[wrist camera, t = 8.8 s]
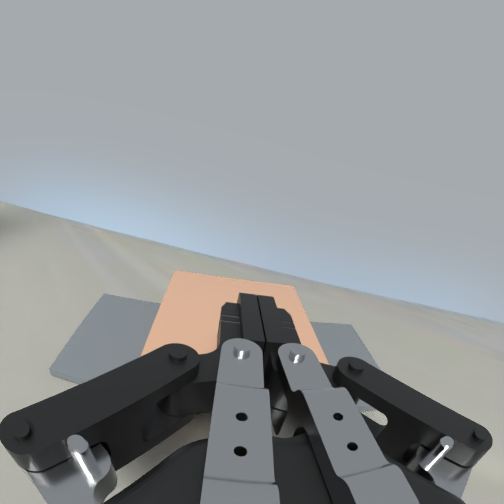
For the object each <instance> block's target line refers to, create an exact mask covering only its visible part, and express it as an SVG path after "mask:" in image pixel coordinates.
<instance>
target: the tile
mask: <svg viewBox="0 0 504 504" xmlns="http://www.w3.org/2000/svg"><path fill="white" fill-rule="evenodd" d="M239 292H240V293H248V294H256V295H264V296H272V297H274V299H275V303H276V306H277V308H283V309H285V310H286V311H287V312H288V313H289V314H290V315H291V317H292V320H293V323H294V325H295V329H296V331H297V334H298V336H299V339H300V342H301V345H304V346H306V347H308V348H310V349H311V350H312V351H313V352H314V353H315V355H316V356H317V358H318V360H319V362H320V363H324V364H328V361H327V359H326V357H325V355H324V352H323V350H322V348H321V346H320V343H319V341H318V339H317V337H316V334H315V332H314V330H313V328H312V326H311V323H310V321H309V319H308V317H307V315H306V312H305V310H304V308H303V306H302V304H301V301H300V299H299V297H298V295H297V293H296V291H295V288H294V286H288V285H280V284H272V283H264V282H256V281H248V280H240V279H233V278H226V277H218V276H211V275H204V274H197V273H190V272H183V271H176V270H175V272H174V274H173V277H172V279H171V281H170V284H169V286H168V288H167V291H166V293H165V296H164V298H163V300H162V303H161V305H160V308H159V310H158V313H157V315H156V318H155V320H154V323H153V325H152V328H151V330H150V333H149V335H148V338H147V341H146V343H145V346H144V348H143V351H142V354H141V356H143V355H145V354H147V353H149V352H151V351H153V350H155V349H157V348H159V347H161V346H163V345H166V344H171V343H180V344H185V345H188V346H190V347H192V348H193V349H195V350H196V351H197V353H198V354H206V353H210V352H212V351H214V350H216V349H217V334H218V327H219V320H220V313H221V307H222V306H223V305H224V304H225V303H226V302H231V303H237V300H238V295H239ZM141 356H140V357H141ZM328 365H329V364H328Z"/></svg>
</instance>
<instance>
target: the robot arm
mask: <svg viewBox="0 0 504 504" xmlns="http://www.w3.org/2000/svg"><path fill="white" fill-rule="evenodd" d="M359 400H362V401H364V402H365V403H367V404H368V405H370V406H372V407H373V408H375V409H377V410H378V411H380V412H381V413H383V414H384V415H385V416H386V417H387V419H388V423H387V425H380V424H378V423H376V422H375V421H373V420H371V419H370V418H368V417H367V416H365V415H363V414H362V413H360V412H359V410H358V408H357V406H356V405H357V403H358V401H359ZM211 411H212V415H211V422H210V430H209V437H208V438H207V439H203V440H198V441H195V442H192V443H189V444H187V445H185V446H183V447H181V448H179V449H178V450H176V451H175V452H173V453H172V454H171V455H170V456H168V457H167V458H166V459H164V460H163V461H162V462H161V463H159V464H158V465H157V466H155V467H154V468H153V469H151V470H150V471H149V472H147V473H146V474H145V475H143V476H142V477H141V478H139V479H138V480H136V481H135V482H134V483H132V484H131V485H129V486H128V487H126V488H125V489H124V490H122V491H121V492H119V493H118V494H116V495H115V496H113V497H112V498H110V499H109V500H107V501H106V502H104V500H105V498H106V497H107V496H108V495H109V494H110V493H111V492H112V491H113V490H114V489H115V487H116V485H117V474H116V472H115V471H117V470H118V469H120V468H122V467H123V466H125V465H126V464H128V463H130V462H131V461H133V460H134V459H136V458H138V457H139V456H141V455H142V454H144V453H145V452H147V451H148V450H150V449H151V448H153V447H154V446H156V445H157V444H159V443H160V442H162V441H163V440H165V439H166V438H167V437H169V436H170V435H172V434H173V433H175V432H176V431H177V430H179V429H180V428H182V427H183V426H184V425H186V424H187V423H189V422H190V421H191V420H192V419H193V417H194V414H197V413H204V412H211ZM0 440H1V442H2V444H3V445H4V447H5V448H6V450H7V451H8V452H9V454H10V455H11V456H12V458H13V459H14V460H15V462H16V463H17V464H18V465H19V467H20V468H21V469H22V470H23V472H24V473H25V474H26V475H27V476H28V478H29V479H30V480H31V481H32V482H33V483H34V485H35V486H36V487H37V489H38V490H39V492H40V493H41V495H42V496H43V498H44V499H45V500H46V502H47V503H48V504H465V503H464V501H463V500H461V496H462V494H463V491H464V489H465V486H466V484H467V481H468V478H469V475H470V472H471V469H472V468H473V467H474V466H475V465H476V464H477V462H478V461H479V460H480V459H481V458H482V457H483V456H484V454H485V453H486V452H487V451H488V450H489V449H490V448H491V446H492V437H491V434H490V433H489V431H488V430H487V429H486V428H484V427H483V426H481V425H479V424H477V423H475V422H474V421H472V420H470V419H468V418H466V417H464V416H462V415H460V414H458V413H456V412H455V411H453V410H451V409H449V408H447V407H445V406H443V405H442V404H440V403H438V402H436V401H434V400H432V399H431V398H429V397H427V396H425V395H423V394H422V393H420V392H418V391H416V390H414V389H413V388H411V387H409V386H407V385H405V384H404V383H402V382H400V381H398V380H397V379H395V378H393V377H391V376H390V375H388V374H386V373H384V372H383V371H381V370H379V369H377V368H376V367H374V366H372V365H371V364H369V363H367V362H365V361H364V360H362V359H359V358H356V357H343V358H341V359H340V360H339V361H338V363H337V365H336V366H332V365H328V364H324V363H320V362H319V360H318V358H317V356H316V355H315V353H314V352H313V351H312V350H311V349H310V348H308V347H306V346H304V345H301V342H300V339H299V336H298V334H297V331H296V329H295V325H294V323H293V320H292V317H291V315H290V314H289V313H288V312H287V311H286V310H285V309H283V308H277V306H276V303H275V299H274V297H272V296H264V295H256V294H248V293H240V292H239V295H238V300H237V303H231V302H226V303H225V304H224V305H223V306H222V307H221V313H220V320H219V327H218V334H217V349H216V350H214V351H212V352H210V353H206V354H198V353H197V351H196V350H195V349H193V348H192V347H190V346H188V345H185V344H180V343H171V344H166V345H163V346H161V347H159V348H157V349H155V350H153V351H151V352H149V353H147V354H145V355H143V356H141V357H139V358H136V359H134V360H132V361H130V362H128V363H126V364H124V365H122V366H119V367H117V368H115V369H113V370H111V371H109V372H107V373H104V374H102V375H100V376H98V377H96V378H93V379H91V380H89V381H87V382H84V383H82V384H80V385H78V386H75V387H73V388H71V389H68V390H66V391H64V392H62V393H59V394H57V395H55V396H52V397H50V398H47V399H45V400H43V401H40V402H38V403H35V404H33V405H30V406H28V407H26V408H23V409H21V410H18V411H16V412H13V413H11V414H9V415H7V416H6V417H5V418H4V419H3V420H2V422H1V424H0Z"/></svg>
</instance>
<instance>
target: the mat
mask: <svg viewBox="0 0 504 504" xmlns="http://www.w3.org/2000/svg"><path fill="white" fill-rule="evenodd" d="M160 305H161V304H159V303H153V302H147V301H141V300H135V299H130V298H124V297H119V296H114V295H108V294H103V296H102V297H101V298H100V299H99V301H98V302H97V303H96V305H95V306H94V307H93V309H92V310H91V311H90V312H89V314H88V315H87V316H86V318H85V319H84V320H83V322H82V323H81V325H80V326H79V327H78V329H77V330H76V331H75V333H74V334H73V336H72V337H71V338H70V340H69V341H68V343H67V344H66V345H65V347H64V348H63V350H62V351H61V353H60V354H59V355H58V357H57V358H56V360H55V361H54V363H53V364H52V366H51V367H50V373H51V375H53V376H56V377H59V378H62V379H65V380H68V381H71V382H74V383H78V384H82V383H84V382H87V381H89V380H91V379H93V378H96V377H98V376H100V375H102V374H104V373H107V372H109V371H111V370H113V369H115V368H117V367H119V366H122V365H124V364H126V363H128V362H130V361H132V360H134V359H136V358H139V357H140V356H141V354H142V351H143V348H144V346H145V343H146V341H147V338H148V335H149V333H150V330H151V328H152V325H153V323H154V320H155V318H156V315H157V313H158V310H159V308H160ZM310 323H311V326H312V328H313V330H314V332H315V334H316V337H317V339H318V341H319V343H320V346H321V348H322V350H323V352H324V355H325V357H326V359H327V361H328V364H329V365H332V366H336V365H337V363H338V361H339V360H340V359H341V358H343V357H356V358H359V359H362V360H364V361H365V362H367V363H369V364H371V365H372V366H374V367H376V368H377V369H379V367H378V365H377V364H376V362H375V361H374V359H373V358H372V356H371V354H370V353H369V351H368V350H367V348H366V347H365V345H364V343H363V342H362V340H361V339H360V337H359V336H358V334H357V333H356V331H355V330H354V328H353V327H352V325H350V324H333V323H319V322H310ZM379 370H380V369H379ZM356 406H357V408H358V410H359V411H368V410H377V409H375V408H373V407H372V406H370V405H368V404H367V403H365V402H364V401H362V400H359V401H358V403H357V405H356Z"/></svg>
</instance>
